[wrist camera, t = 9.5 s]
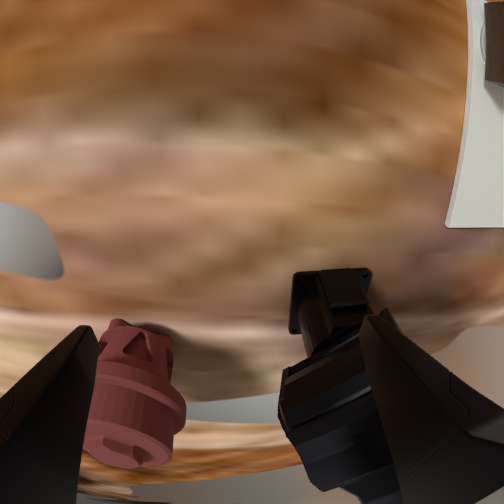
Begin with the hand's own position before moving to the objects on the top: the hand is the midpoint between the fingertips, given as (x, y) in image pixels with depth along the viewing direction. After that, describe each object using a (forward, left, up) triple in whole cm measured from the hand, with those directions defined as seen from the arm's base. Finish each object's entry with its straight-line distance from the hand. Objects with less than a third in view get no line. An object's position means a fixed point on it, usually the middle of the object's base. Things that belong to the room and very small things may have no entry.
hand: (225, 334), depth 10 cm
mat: (+7, -27, -13) cm, 30 cm away
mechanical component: (-14, +9, -13) cm, 21 cm away
